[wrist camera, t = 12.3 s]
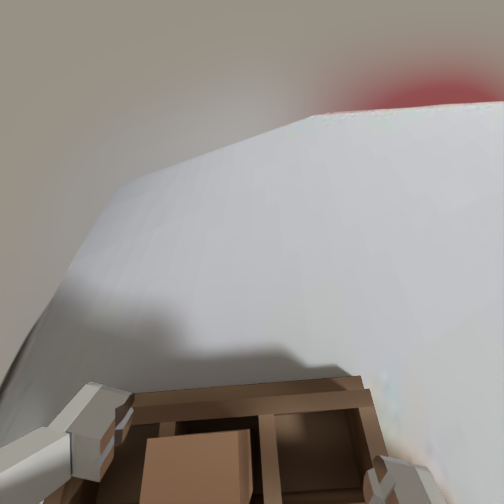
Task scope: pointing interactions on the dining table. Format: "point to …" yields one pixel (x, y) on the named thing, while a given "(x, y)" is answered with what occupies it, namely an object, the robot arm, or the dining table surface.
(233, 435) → the clay bar
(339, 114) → the dining table surface
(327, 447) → the wooden cubby shelf
